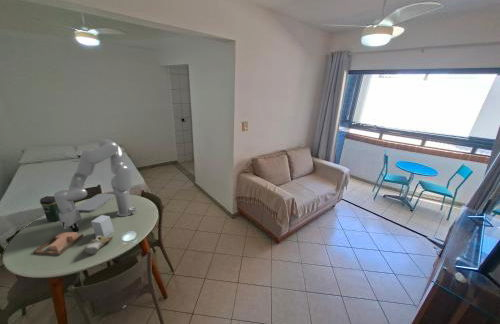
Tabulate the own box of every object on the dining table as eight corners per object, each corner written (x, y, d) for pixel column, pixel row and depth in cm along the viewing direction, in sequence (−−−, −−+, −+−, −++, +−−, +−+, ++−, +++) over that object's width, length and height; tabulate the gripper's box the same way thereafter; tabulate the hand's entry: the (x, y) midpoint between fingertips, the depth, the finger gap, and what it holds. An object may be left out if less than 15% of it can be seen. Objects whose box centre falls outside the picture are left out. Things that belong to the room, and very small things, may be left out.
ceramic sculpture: (76, 244, 109) (95, 228, 123) (79, 257, 112) (98, 239, 126) (95, 245, 109) (112, 228, 124) (98, 257, 112) (114, 240, 126)
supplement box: (114, 231, 133) (110, 216, 128) (104, 239, 126) (99, 223, 121) (105, 229, 134) (101, 214, 130) (95, 237, 127) (90, 221, 123)
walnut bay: (83, 236, 128) (83, 234, 127) (59, 255, 113) (58, 253, 112) (60, 234, 129) (60, 232, 128) (33, 253, 114) (32, 251, 113)
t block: (78, 236, 127) (76, 232, 126) (63, 250, 116) (61, 245, 114) (62, 237, 126) (60, 232, 125) (45, 251, 115) (43, 246, 114)
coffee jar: (67, 216, 148) (59, 195, 141) (56, 222, 140) (48, 200, 134) (56, 214, 148) (48, 194, 142) (45, 221, 141) (36, 199, 135)
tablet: (73, 211, 154) (72, 209, 153) (99, 195, 178) (99, 193, 177) (92, 212, 153) (92, 210, 152) (116, 196, 177) (115, 194, 176)
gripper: (72, 202, 131) (80, 224, 138) (50, 215, 117) (59, 239, 124) (83, 202, 131) (90, 224, 137) (61, 215, 117) (70, 239, 123)
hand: (75, 231), depth 130 cm, fingers closed
